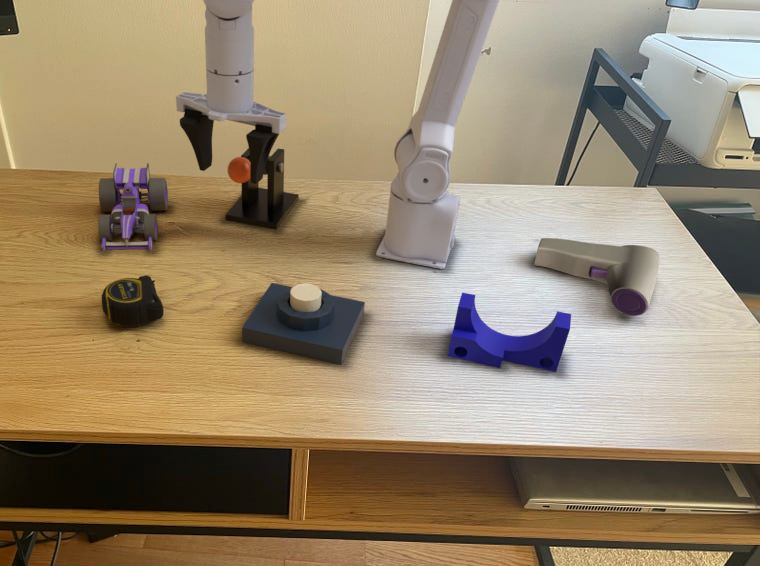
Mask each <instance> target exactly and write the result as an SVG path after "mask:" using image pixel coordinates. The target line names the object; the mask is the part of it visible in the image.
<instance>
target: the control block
mask: <svg viewBox="0 0 760 566" xmlns="http://www.w3.org/2000/svg"><path fill="white" fill-rule="evenodd" d="M293 287H294V286H289V285H284V284H279V283H275V282H270V285H269V286H268V288H267V289H266V290H265V292H264V294H263V295H262V296H261V298H260V300H259V301H258V302H257V304H256V306H255V307H254V309H253V310H252V311H251V313H250V315H249V316H248V317H247V319H246V321H245V322H244V324H243V325H242V327H241V338H242V339H241V342H242V343H245V344H249V345H252V346H253V345H254V346H258V347H261V348H266V349H270V350H275V351H279V352H284V353H288V354H292V355H297V356H301V357H306V358H309V359H313V360H318V361H323V362H327V363H331V364H336V365H339V366H342V365H343V363H344V360H345V357H346V356H347V354H348V351H349V349H350V347H351V345H352V342H353V340H354V338H355V336H356V334H357V332H358V329H359V328H360V325H361V324H362V321H363V319H364V316H365V315H364V314H365V305H366V302H365V301H361V300H357V299H353V298H348V297H347V298H346V297H342V296H337V295H333V294H330V293H329V292H327V291H325V290H324V289H322V288H320V290H321V292H322V295H321V306H320V308H319V309H318V310H316V311H314V312H300V311H295V310H294V309H292V307H291V306H290V291H291V289H292V288H293Z"/></svg>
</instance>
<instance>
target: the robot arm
mask: <svg viewBox="0 0 760 566" xmlns="http://www.w3.org/2000/svg"><path fill="white" fill-rule="evenodd" d="M202 1H203V3H204V5H205V11H204V18H205V22H206V24H205V27H204V45H205V46H204V48H205V51H204V52H205V77H206V78H205V79H206V83H205V84H206V93H195V92H188V91H182V92H181V93H179V94H177V95H176V96H175V103H176V104H175V105H176V112H180V113H183V116H182V117H181V118H179V126H180V127H181V129H182V130H183V131H184V133H185V135H186V137H187V139H188V141H189V143H190V145H191V147H192V149H193V152H194V155H195V159H196V161H197V165H198V169H199V171H203V172H205V171H206V170H207V169H209V168H210V167H212V164H213V133H214V125H215V124H214V123H215V121H216V122H224V121H230V122H235V123H239V124H243V125H248V126H253V127H254V129H252V130H251V131H249V132H247V133H246V135H245V138H246V141H247V145H248V148H249V152H250V162H251V164H250V179H251V183H253V184H257V183H258V182H260V181H262V180H263V179H264V175H263V174H264V169H265V166H266V162H267V159H268V156H270V153H271V151H272V149H273V147H274V146H275V145H274V144H275V143H276V141H277V139H278V137H279V136H280V134H281V133H283V132H284V131H285V130H286V129H287V113H286V112H283V111H282V112H281V111H278V110H276V109H273V108H271V107H268V106H266V105H263V104H261V103H258V102H256V101H255V100H254V91H255V90H254V88H255V87H254V86H255V84H254V83H255V80H254V79H255V78H254V77H255V28H254V25H253V3H254V1H255V0H202ZM499 2H500V0H452V1H451V2H450V3H451V4H450V6H449V10H448V13H447V16H446V19H445V21H444V22H445V23H444V25H443V29H442V32H441V36H440V39H439V42H438V45H437V48H436V51H435V55H434V58H433V62H432V64H431V67H430V71H429V74H428V76H427V79H426V84H425V86H424V90H423V93H422V96H421V100H420V103H419V106H418V108H417V111H416V112H415V113H414V114H413V115H412V117H411V119H410V121H409V125H408V127H407V129H406V130H405V132H404V133H403V134H402V135H401V136H400V137H399V138H398V140H397V141H396V142H395V143H396V144H395V146H394V150H393V156H394V160H395V163H396V165H397V170H398V172H397V174H396V176H395V177H394V178H393V180H392V181H391V182H390V190H389V198H388V205H387V215H386V223H385V232H384V233H385V234H384V235H383V238H382V239H381V242H380V244H379V246H378V248H377V250H376V252H375V255H376V256H377V257H379V258H380V257H381V258H382V259H386V260H387V259H388V260H392V261H399V262H403V263H408V264H414V265H419V266H424V267H429V268H435V269H439V270H444V269H445V268H446V265H447V263H448V260H449V257H450V253H451V250H453V249H454V246H455V242H456V235H455V232H456V228H457V222H458V217H459V211H460V205H461V196H460V195H457V194H454V193H451V192H449V191H448V188H449V186H450V184H451V177H452V174H451V168H450V164H451V163H450V162H451V158H452V156H453V153H454V143H455V129H456V125H457V122H458V119H459V117H460V113H461V111H462V108H463V105H464V103H465V100H466V96H467V94H468V91H469V88H470V85H471V82H472V79H473V76H474V74H475V71H476V68H477V66H478V62H479V60H480V57H481V55H482V51H483V48H484V45H485V42H486V40H487V37H488V34H489V31H490V28H491V25H492V22H493V20H494V17H495V14H496V11H497V8H498V6H499Z"/></svg>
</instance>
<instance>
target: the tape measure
mask: <svg viewBox="0 0 760 566" xmlns="http://www.w3.org/2000/svg"><path fill="white" fill-rule="evenodd" d="M155 282H156V280H153V279H152V277H151V276H150V275H140V276H139V277H138V278H137V277H124V278H118V279H116V280H114V281H112V282H110V283H109V284H107V285H106V286H105V288H104V289H103V292H102V294H101V307H102V311H103V314H104V315H105V317H106V318H107V319H108V320H109V321H110V322H111V323H112V324H115V325H117V326H121V327H129V328H130V327H138V326H142V325H145V324H148V323H151V322H155V321H158V320H160V319H162V318H163V317H164V313H165V312H164V310H165V309H164V305H163V302H162V301H161V299H160V297H159V295H158V294H157V290H156V289H157V288H156V287H155V285H156V284H155Z"/></svg>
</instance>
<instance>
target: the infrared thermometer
mask: <svg viewBox="0 0 760 566" xmlns="http://www.w3.org/2000/svg"><path fill="white" fill-rule="evenodd" d="M535 254H536V255H535V259H534V266H535V267H543V268H547V269H548V268H549V269H552V270H555V271H559V272H562V273H564V274H569V275H572V276H574V277H579V278H584V279H585V278H586V279H590V280H592V281H596V282H599V283H601V284H604V285H605V284H606V285H607V289H608V294H609V299H610V302H611V304H612V306H613V307H614V309H616V311H618V312H619V313H622V314H624V315H626V316H629V317H630V316H631V317H638V316H641V315H644V314H645V313H646V312H647V311H648V309H649V306H650V303H651V300H652V297H653V293H654V291H655V287H656V284H657V281H658V277H659V276H658V275H659V268H660V261H661V257H660V256H661V255H660V254H659V252H658V251H657V250H655V249H654V248H652V247H649V246H646V245H637V244H626V245H621V246H620V245H613V244H603V243H596V242H595V243H594V242H593V243H592V242H586V241H579V240H573V239H572V240H571V239H564V238H555V237H541V239H540V241H539V243H538V246H537V250H536V253H535Z"/></svg>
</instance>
